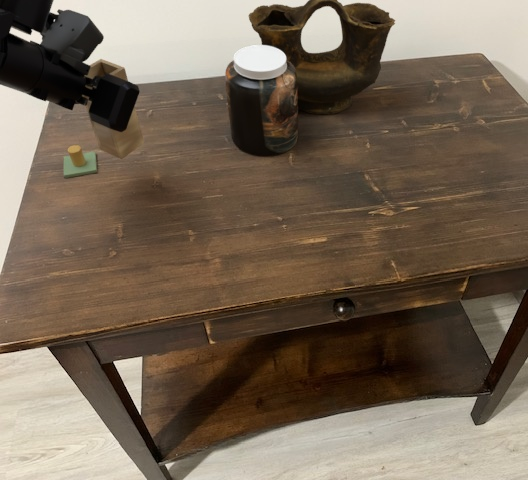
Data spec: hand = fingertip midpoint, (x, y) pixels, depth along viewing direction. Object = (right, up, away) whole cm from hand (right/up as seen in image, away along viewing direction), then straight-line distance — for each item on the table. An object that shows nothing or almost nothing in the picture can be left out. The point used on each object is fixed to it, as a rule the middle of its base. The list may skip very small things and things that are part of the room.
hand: (118, 104), depth 76 cm
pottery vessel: (+29, +7, +26) cm, 40 cm away
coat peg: (-10, -7, +11) cm, 17 cm away
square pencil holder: (-1, -5, +4) cm, 7 cm away
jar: (+19, -1, +18) cm, 26 cm away
